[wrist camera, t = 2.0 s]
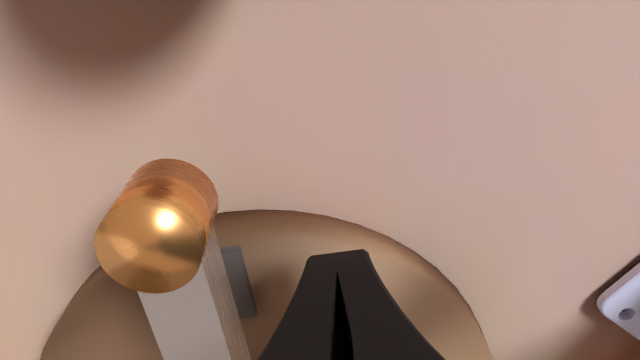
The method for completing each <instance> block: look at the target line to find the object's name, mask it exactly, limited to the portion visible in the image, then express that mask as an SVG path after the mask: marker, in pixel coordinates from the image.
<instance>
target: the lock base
mask: <svg viewBox="0 0 640 360" xmlns="http://www.w3.org/2000/svg"><path fill="white" fill-rule="evenodd" d="M213 227H214V230H215V234H216V237H217V241H218V244H219V248H220V251H221V255H222V258H223V262H224V265H225V269H226V273H227V276H228V280H229V283H230V287H231V290H232V294H233V297H234V301H235V304H236V308H237V311H238V315H239V319H240V322H241V326H242V329H243V333H244V336H245V340H246V343H247V347H248V350H249V354H250V357H251V360H257V359H258V358H259V356H260V355H261V353H262V352H263V350H264V349H265V347H266V345H267V344H268V342H269V340H270V339H271V337H272V335H273V333H274V332H275V330H276V328H277V326H278V325H279V323H280V321H281V319H282V317H283V316H284V314H285V311H286V309H287V307H288V305H289V303H290V301H291V299H292V297H293V295H294V293H295V291H296V288H297V286H298V284H299V281H300V279H301V276H302V273H303V271H304V268H305V265H306V261H307V259H308V258H309V257H310V256H312V255H320V254H327V253H335V252H343V251H351V250H358V249H364V250H366V251H367V252H369V256H370V259H371V261H372V263H373V265H374V268H375V269H376V271H377V273H378V275H379V277H380V278H381V280H382V282H383V284H384V285H385V287H386V288H387V290H388V291H389V293H390V294H391V296H392V297H393V298H394V300H395V301H396V303H397V304H398V306H399V307H400V308H401V310H402V311H403V312H404V314H405V315H406V316H407V317H408V319H409V320H410V321H411V322H412V324H413V325H414V326H415V327H416V328H417V330H418V331H419V332H420V333H421V334H422V335H423V336H424V338H425V339H426V340H427V341H428V342H429V343H430V344H431V345H432V346H433V347H434V348H435V349H436V350H437V351H438V352H439V353H440V354H441V355H442V356H443V357H444V358H445V359H446V360H493V358H492V356H491V353H490V351H489V348H488V346H487V343H486V341H485V338H484V335H483V333H482V330H481V328H480V326H479V324H478V322H477V320H476V318H475V316H474V314H473V312H472V310H471V308H470V306H469V305H468V303H467V302H466V301H465V299H464V298H463V296H462V295H461V294H460V292H459V291H458V289H457V288H456V287H455V286H454V285H453V284H452V283H451V282H450V281H449V280H448V279H447V278H446V277H445V276H444V275H443V274H442V273H441V272H440V271H439V270H438V269H437V268H436V267H435V266H433V265H432V264H431V263H429V262H428V261H427V260H425V259H424V258H423V257H421V256H420V255H419V254H417V253H416V252H415V251H413V250H411V249H410V248H408V247H406V246H404V245H402V244H401V243H399V242H397V241H395V240H393V239H392V238H390V237H388V236H386V235H383V234H381V233H378V232H376V231H373V230H371V229H368V228H366V227H363V226H361V225H358V224H355V223H351V222H347V221H344V220H340V219H336V218H332V217H329V216H324V215H317V214H311V213H304V212H297V211H284V210H247V211H234V212H223V213H218V214H216V217H215V220H214V223H213ZM40 360H164V359H163V357H162V354H161V351H160V349H159V346H158V344H157V341H156V338H155V336H154V333H153V331H152V328H151V325H150V323H149V320H148V318H147V315H146V312H145V310H144V307H143V305H142V302H141V299H140V297H139V294H138V292H137V291H135V290H132V289H129V288H127V287H125V286H123V285H121V284H120V283H118V282H117V281H115V280H114V279H112V278H111V277H110V276H109V275H108V274H107V273H106V272H105V270H104V269H103V268H102V266H100V267H99V268H98V269H97V270H96V271H95V272H93V273H92V274H91V275H90V276H89V278H88V279H87V280H86V281H85V283H84V284H83V285H82V286H81V288H80V289H79V290H78V291H77V293H76V294H75V295H74V297H73V299H72V300H71V302H70V303H69V305H68V307H67V308H66V310H65V312H64V313H63V315H62V316H61V318H60V320H59V321H58V323H57V325H56V326H55V328H54V330H53V332H52V333H51V335H50V337H49V339H48V341H47V343H46V344H45V346H44V349H43V352H42V355H41V358H40Z"/></svg>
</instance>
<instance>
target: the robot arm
mask: <svg viewBox="0 0 640 360" xmlns="http://www.w3.org/2000/svg"><path fill="white" fill-rule="evenodd" d="M596 303H597V307H598V309H599V310H600V311H601V313H602V314H603V315H604V316H605V317H606V318H608V319H609V320H611V321H612V322H614V323H615V324H617V325H618V326H619V327H621V328H622V329H624V330H625V331H627V332H628V333H629V334H631V335H632V336H634V337H635V338H637V339H638V340H640V263H639V264H637V265H636V266H635V267H634V268H632V269H631V270H630V271H629V272H628V273H626V274H625V275H624V276H623V277H621V278H620V279H619V280H618V281H617V282H615V283H614V284H613V285H612V286H610V287H609V288H608V289H607V290H605V291H604V292H603V293H602V294H601V295H600V296H599V297H598V299H597V302H596ZM626 308H627V309H626ZM624 309H626V310H625V311H623V312H621V311H622V310H624ZM257 360H446V359H445V358H444V357H443V356H442V355H441V354H440V353H439V352H438V351H437V350H436V349H435V348H434V347H433V346H432V345H431V344H430V343H429V342H428V341H427V340H426V339H425V338H424V336H423V335H422V334H421V333H420V332H419V331H418V330H417V328H416V327H415V326H414V325H413V324H412V322H411V321H410V320H409V319H408V317H407V316H406V315H405V314H404V312H403V311H402V310H401V308H400V307H399V306H398V304H397V303H396V301H395V300H394V298H393V297H392V296H391V294H390V293H389V291H388V290H387V288H386V287H385V285H384V284H383V282H382V280H381V278H380V277H379V275H378V273H377V271H376V269H375V268H374V265H373V263H372V261H371V259H370V256H369V252H367V251H366V250H364V249H358V250H351V251H343V252H335V253H327V254H320V255H312V256H310V257H309V258H308V259H307V261H306V265H305V268H304V271H303V273H302V276H301V279H300V281H299V284H298V286H297V288H296V291H295V293H294V295H293V297H292V299H291V301H290V303H289V305H288V307H287V309H286V311H285V314H284V316H283V317H282V319H281V321H280V323H279V325H278V326H277V328H276V330H275V332H274V333H273V335H272V337H271V339H270V340H269V342H268V344H267V345H266V347H265V349H264V350H263V352H262V353H261V355H260V356H259V358H258V359H257Z"/></svg>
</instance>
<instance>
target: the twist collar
mask: <svg viewBox="0 0 640 360" xmlns="http://www.w3.org/2000/svg"><path fill="white" fill-rule="evenodd" d="M217 210H218V196H217V192H216V189H215V187H214V185H213V183H212V182H211V180H210V179H209V178H208V177H207V175H206V174H205V173H203V172H202V171H201V170H200V169H198V168H197V167H195V166H193V165H192V164H189V163H187V162H184V161H181V160H175V159H159V160H154V161H152V162H149V163H147V164H145V165H143V166H142V167H140V168H139V169H138V170H137V171H136V172H135V173H134V175H133V176H132V177H131V179H130V180H129V182H128V183H127V185H126V186H125V188H124V189H123V191H122V192H121V194H120V195H119V197H118V198H117V200H116V201H115V203H114V204H113V206H112V207H111V209H110V210H109V211H108V213H107V214H106V216H105V217H104V219H103V220H102V222H101V223H100V225H99V227H98V229H97V231H96V234H95V238H94V249H95V254H96V257H97V259H98V261H99V263H100V265H101V266H102V268H103V269H104V270H105V272H106V273H107V274H108V275H109V276H110V277H111V278H112V279H114V280H115V281H117V282H118V283H120V284H121V285H123V286H125V287H127V288H129V289H132V290H135V291H137V292H138V294H139V297H140V299H141V302H142V305H143V307H144V310H145V312H146V315H147V318H148V320H149V323H150V325H151V328H152V331H153V333H154V336H155V338H156V341H157V344H158V346H159V349H160V351H161V354H162V357H163V359H164V360H251V357H250V354H249V350H248V347H247V343H246V340H245V336H244V333H243V329H242V326H241V322H240V319H239V315H238V311H237V308H236V304H235V301H234V297H233V294H232V290H231V287H230V283H229V280H228V276H227V273H226V269H225V265H224V262H223V258H222V255H221V251H220V248H219V244H218V241H217V237H216V234H215V230H214V227H213V223H214V220H215V217H216V214H217Z"/></svg>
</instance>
